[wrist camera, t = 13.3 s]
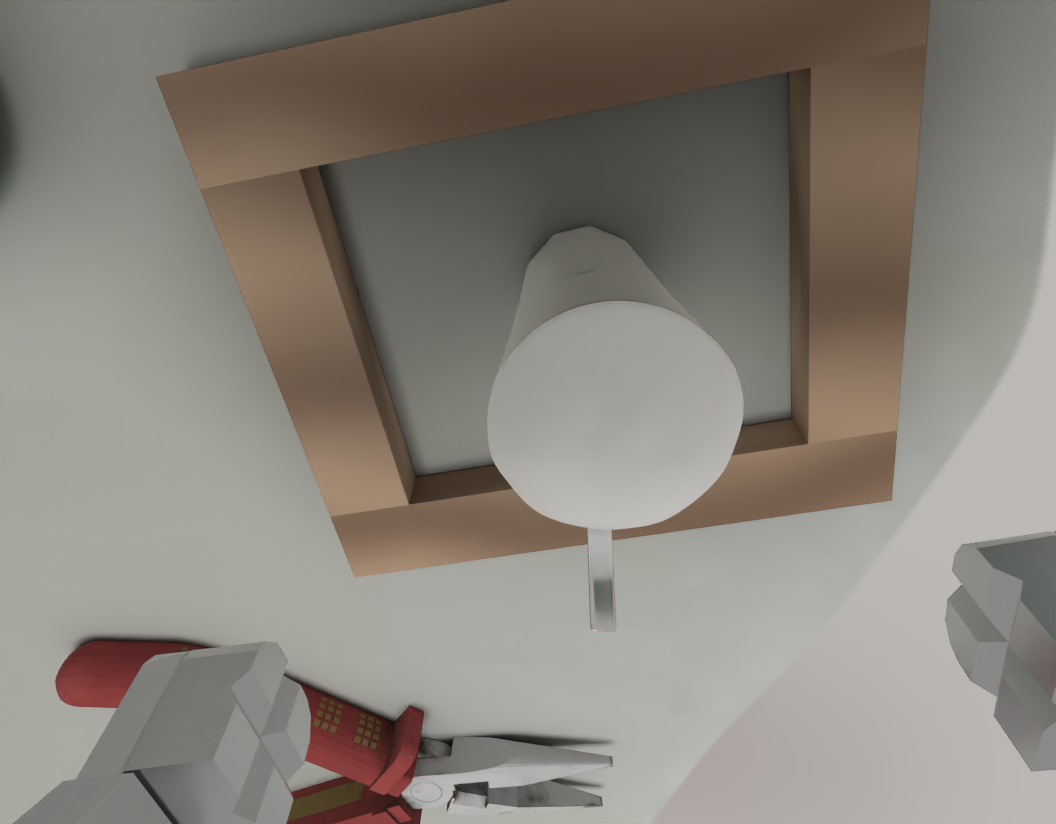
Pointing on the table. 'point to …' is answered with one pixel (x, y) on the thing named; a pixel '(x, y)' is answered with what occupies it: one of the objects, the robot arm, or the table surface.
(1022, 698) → the robot arm
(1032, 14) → the table surface
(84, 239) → the table surface
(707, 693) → the table surface
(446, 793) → the pliers
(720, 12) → the wooden frame
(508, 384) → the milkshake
